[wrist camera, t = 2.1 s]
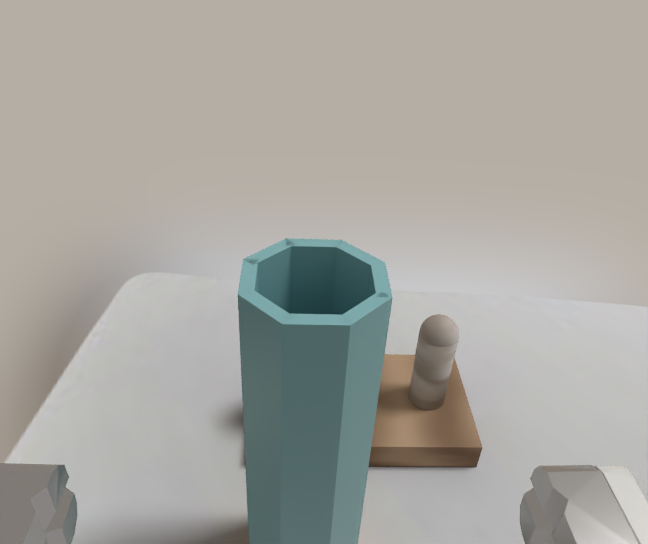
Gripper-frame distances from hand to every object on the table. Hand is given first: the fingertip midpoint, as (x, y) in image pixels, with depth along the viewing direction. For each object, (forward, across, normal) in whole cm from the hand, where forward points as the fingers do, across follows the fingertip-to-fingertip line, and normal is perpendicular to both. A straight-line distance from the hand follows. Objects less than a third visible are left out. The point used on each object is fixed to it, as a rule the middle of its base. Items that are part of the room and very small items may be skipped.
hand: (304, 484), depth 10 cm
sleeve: (+12, +1, -24) cm, 27 cm away
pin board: (+23, +5, -24) cm, 34 cm away
